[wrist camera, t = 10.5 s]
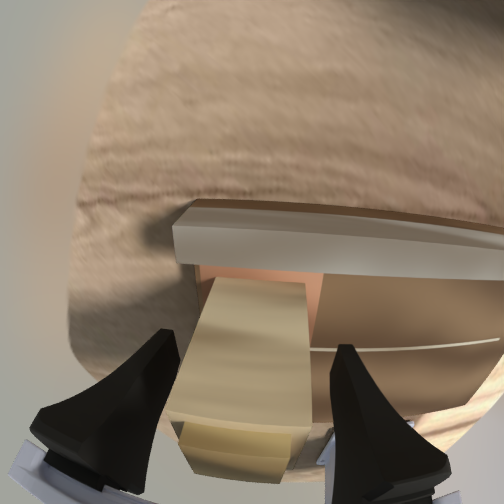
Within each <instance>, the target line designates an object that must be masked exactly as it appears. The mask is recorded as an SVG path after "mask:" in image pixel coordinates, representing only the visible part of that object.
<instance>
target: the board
mask: <svg viewBox="0 0 504 504" xmlns="http://www.w3.org/2000/svg"><path fill="white" fill-rule="evenodd" d="M172 230H173V239H174V248H175V256H176V263H181V264H194V267H195V277H196V286H197V295H198V304H199V312H200V316H201V313H202V311H203V308H204V306H205V303H206V301H207V298H208V296H209V293H210V291H211V288H212V286H213V283H214V281H215V278H216V277H225V278H238V279H252V280H267V281H282V282H298V283H305V286H306V298H307V312H308V327H309V344H310V364H311V390H312V423H327V422H333V415H332V408H331V400H330V375H329V373H330V370H331V367H332V364H333V361H334V358H335V355H336V351H337V348H338V345H339V344H352V345H353V346H354V347H355V349H356V351H357V353H358V355H359V356H360V358H361V360H362V362H363V363H364V365H365V367H366V369H367V370H368V372H369V373H370V375H371V377H372V378H373V380H374V381H375V383H376V384H377V386H378V387H379V389H380V390H381V392H382V393H383V394H384V396H385V397H386V399H387V400H388V401H389V403H390V404H391V405H392V406H393V408H394V409H395V410H396V411H397V412H398V413H399V415H400V416H401V417H406V416H412V415H419V414H425V413H430V412H436V411H441V410H445V409H450V408H454V407H459V406H463V405H465V404H466V403H467V402H468V401H469V400H470V399H471V397H472V396H473V395H474V394H475V392H476V391H477V390H478V389H479V387H480V386H481V385H482V384H483V382H484V381H485V380H486V378H487V377H488V376H489V374H490V373H491V371H492V370H493V369H494V367H495V366H496V364H497V363H498V361H499V360H500V358H501V357H502V355H503V354H504V228H502V227H496V226H491V225H485V224H479V223H473V222H467V221H460V220H454V219H447V218H440V217H433V216H426V215H418V214H410V213H402V212H393V211H385V210H375V209H365V208H355V207H344V206H333V205H320V204H306V203H291V202H274V201H254V200H229V199H197V200H196V201H195V202H194V203H193V204H192V205H191V206H190V207H189V208H188V209H187V210H186V211H185V212H184V213H183V214H182V216H181V217H180V218H179V219H178V220H177V221H176V222H175V223H174V224H173V225H172Z"/></svg>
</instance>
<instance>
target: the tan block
mask: <svg viewBox="0 0 504 504" xmlns="http://www.w3.org/2000/svg"><path fill="white" fill-rule="evenodd" d="M165 411H166V413H167V416H168V418H169V420H170V422H171V424H172V426H173V428H174V431H175V433H176V435H177V437H178V439H179V442H178V445H179V447H180V449H181V451H182V452H183V454H184V456H185V458H186V460H187V461H188V463H189V465H190V466H191V468H192V470H193V472H194V473H195V474H199V475H205V476H211V477H216V478H223V479H230V480H238V481H246V482H257V483H271V484H280V482H281V479H282V477H283V474H284V472H285V470H286V469H289V470H293V469H294V466H295V464H296V462H297V460H298V458H299V456H300V454H301V451H302V449H303V447H304V445H305V443H306V440H307V438H308V436H309V433H310V431H311V429H312V390H311V364H310V344H309V327H308V312H307V298H306V286H305V283H298V282H282V281H267V280H252V279H238V278H225V277H216V278H215V281H214V283H213V286H212V288H211V291H210V293H209V296H208V298H207V301H206V303H205V306H204V308H203V311H202V313H201V316H200V318H199V321H198V324H197V326H196V329H195V331H194V334H193V336H192V339H191V341H190V344H189V347H188V349H187V352H186V354H185V357H184V360H183V362H182V365H181V368H180V370H179V373H178V376H177V378H176V381H175V383H174V386H173V389H172V392H171V394H170V397H169V400H168V402H167V405H166V408H165Z"/></svg>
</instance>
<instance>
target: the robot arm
mask: <svg viewBox="0 0 504 504" xmlns="http://www.w3.org/2000/svg"><path fill="white" fill-rule="evenodd" d="M179 364H180V357H179V353H178V349H177V344H176V340H175V336H174V331H173V330H167V329H160V330H159V331H158V332H157V333H155V334H154V335H153V336H152V337H151V338H150V339H149V340H148V341H147V342H146V343H145V344H144V345H143V346H142V347H141V348H140V349H139V350H138V351H137V352H136V353H134V354H133V355H132V356H131V357H130V358H129V359H128V360H127V361H126V362H124V363H123V364H122V365H121V366H120V367H118V368H117V369H116V370H115V371H113V372H112V373H111V374H110V375H108V376H107V377H105V378H104V379H103V380H101V381H100V382H98V383H97V384H95V385H93V386H92V387H90V388H88V389H86V390H85V391H83V392H81V393H79V394H77V395H75V396H73V397H71V398H69V399H66V400H64V401H62V402H59V403H56V404H53V405H51V406H47V407H44V408H41V409H40V411H39V412H38V414H37V416H36V417H35V419H34V421H33V422H32V424H31V426H30V431H31V433H32V434H33V435H34V436H35V437H36V438H37V439H38V440H40V441H41V442H42V443H43V444H44V445H45V446H46V447H47V448H49V450H48V452H47V453H46V452H45V451H44V450H42V449H41V448H39V447H38V446H36V445H35V444H33V443H31V442H30V441H28V440H25V441H24V443H23V445H22V447H21V449H20V451H19V452H18V454H17V457H16V458H15V461H14V463H13V465H12V466H11V468H10V471H9V473H8V476H10V477H11V478H12V479H13V480H14V481H15V482H17V483H18V484H19V485H20V486H22V487H23V488H24V489H25V490H27V491H28V492H29V493H31V494H32V495H33V496H35V497H36V498H37V499H38V500H40V501H41V502H42V503H44V504H157V503H153V502H150V501H147V500H144V499H141V498H138V497H135V496H132V495H129V494H127V493H124V492H122V491H125V492H127V491H128V492H130V493H133V494H136V495H140V494H142V493H144V489H145V481H146V474H147V468H148V462H149V456H150V452H151V448H152V443H153V439H154V435H155V432H156V428H157V424H158V421H159V418H160V416H161V413H162V411H163V408H164V406H165V404H166V401H167V399H168V396H169V394H170V391H171V389H172V386H173V384H174V381H175V379H176V375H177V371H178V367H179ZM329 375H330V400H331V408H332V415H333V424H334V433H333V435H332V437H331V438H330V440H329V442H328V443H327V445H326V447H325V448H324V450H323V452H322V453H321V455H320V457H319V458H318V460H317V461H316V464H317V465H325V504H462V500H461V493H460V491H459V490H458V491H455V492H453V493H450V494H447V495H445V496H442V497H439V498H436V499H434V500H432V495H433V494H434V493H435V490H434V487H435V486H436V485H438V484H440V483H441V482H443V481H444V480H446V479H447V478H449V476H450V475H451V474H452V473H451V467H450V463H449V459H448V456H447V455H446V454H445V453H443V452H442V451H440V450H439V449H437V448H436V447H435V446H433V445H432V444H430V443H429V442H428V441H427V440H425V439H424V438H423V437H422V436H421V435H419V434H418V433H417V432H416V431H415V430H414V429H413V428H412V427H413V426H414V422H413V421H409V422H406V421H405V420H404V419H403V418H402V417H401V416H400V415H399V413H398V412H397V411H396V410H395V409H394V408H393V406H392V405H391V404H390V403H389V401H388V400H387V399H386V397H385V396H384V394H383V393H382V392H381V390H380V389H379V387H378V386H377V384H376V383H375V381H374V380H373V378H372V377H371V375H370V373H369V372H368V370H367V369H366V367H365V365H364V363H363V362H362V360H361V358H360V356H359V355H358V353H357V351H356V349H355V347H354V346H353V345H352V344H339V345H338V348H337V351H336V355H335V358H334V361H333V364H332V367H331V370H330V373H329ZM120 490H122V491H120Z"/></svg>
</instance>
